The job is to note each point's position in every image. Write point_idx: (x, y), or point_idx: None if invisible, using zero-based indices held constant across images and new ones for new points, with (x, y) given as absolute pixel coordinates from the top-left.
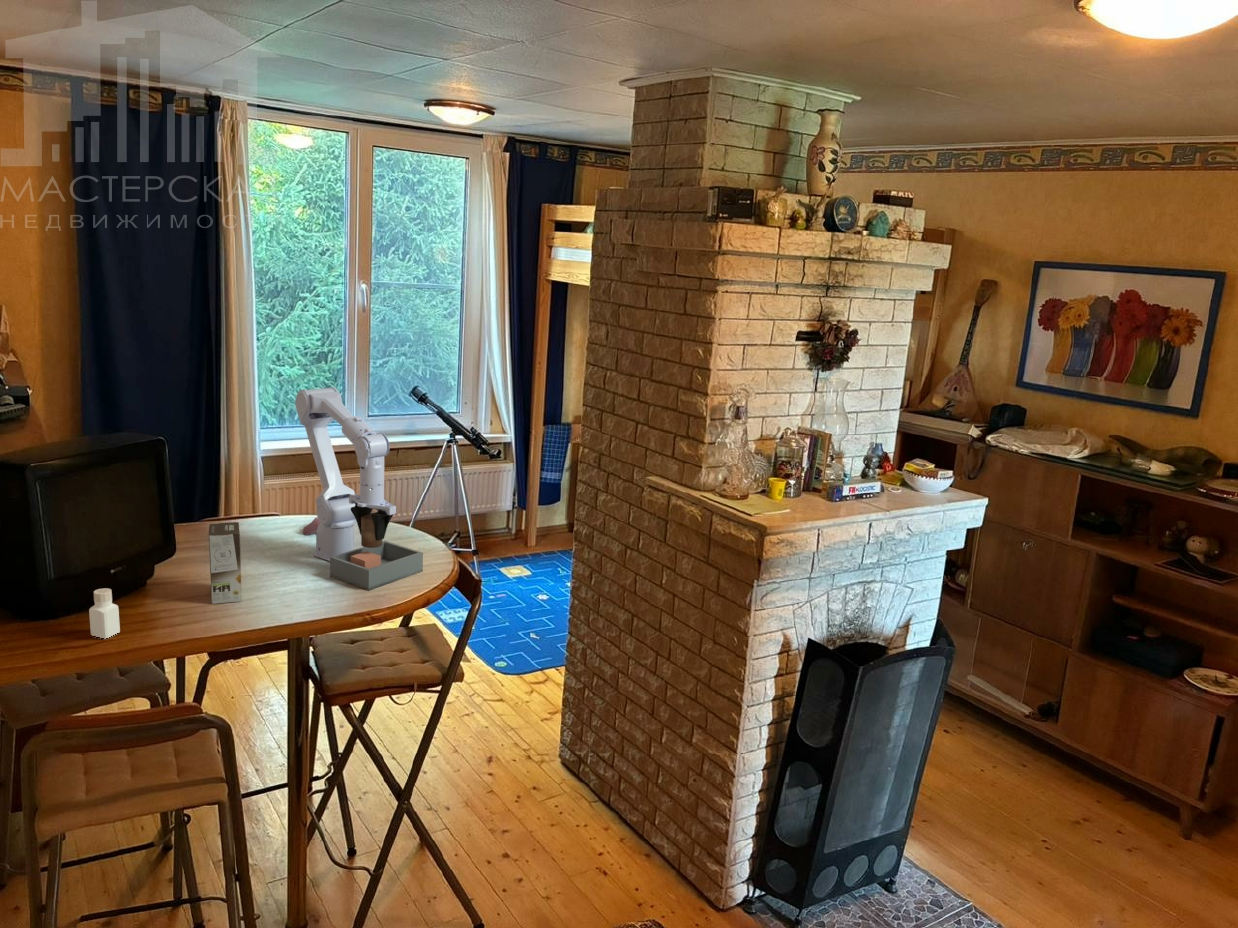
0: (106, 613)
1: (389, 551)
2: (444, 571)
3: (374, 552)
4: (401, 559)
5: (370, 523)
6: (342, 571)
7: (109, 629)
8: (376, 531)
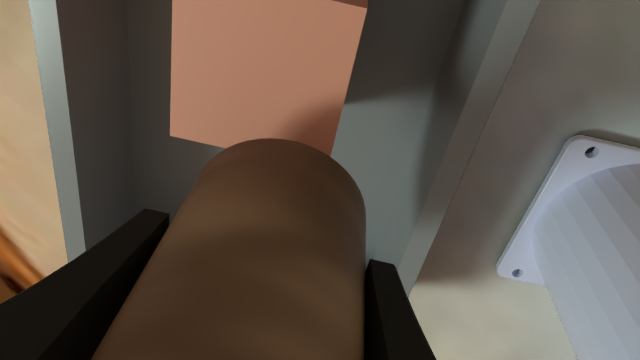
0: None
1: None
2: (60, 264)
3: None
4: (57, 169)
5: (122, 342)
6: None
7: None
8: (85, 262)
